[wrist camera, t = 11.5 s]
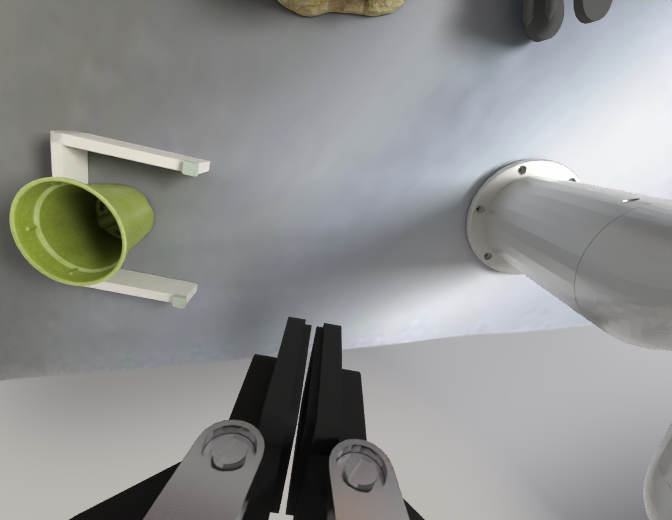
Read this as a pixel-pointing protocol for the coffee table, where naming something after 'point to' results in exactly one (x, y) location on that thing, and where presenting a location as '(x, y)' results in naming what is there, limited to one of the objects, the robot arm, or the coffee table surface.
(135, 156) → the corral
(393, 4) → the ceramic model
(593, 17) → the character figurine
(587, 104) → the coffee table surface
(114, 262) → the plant pot
